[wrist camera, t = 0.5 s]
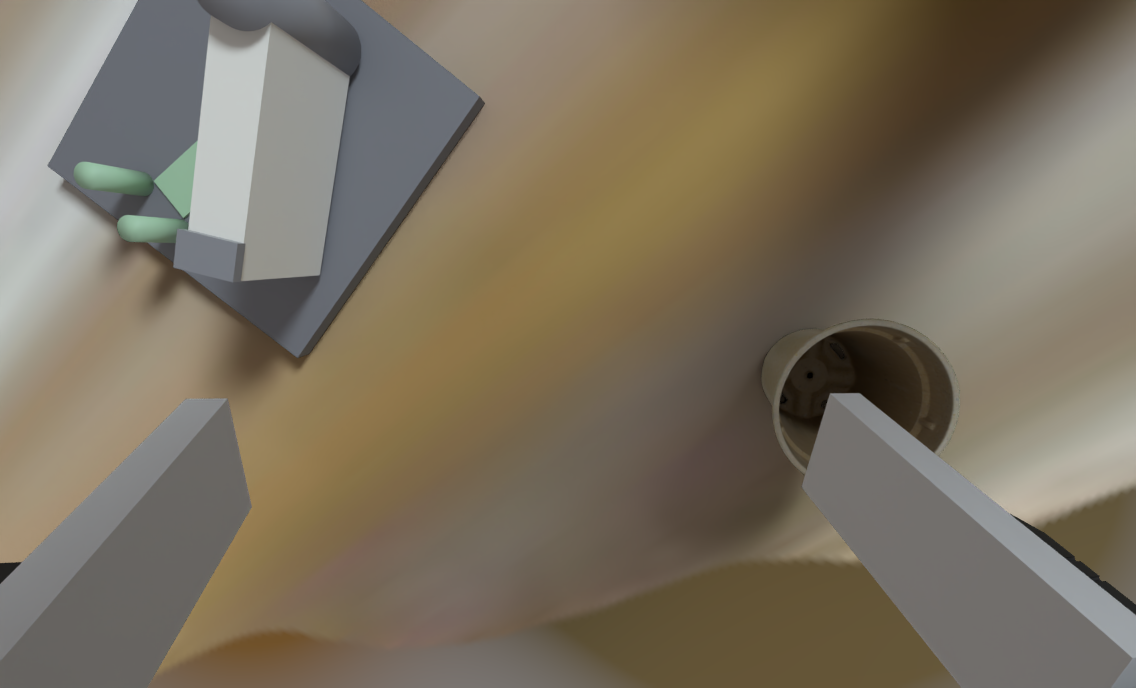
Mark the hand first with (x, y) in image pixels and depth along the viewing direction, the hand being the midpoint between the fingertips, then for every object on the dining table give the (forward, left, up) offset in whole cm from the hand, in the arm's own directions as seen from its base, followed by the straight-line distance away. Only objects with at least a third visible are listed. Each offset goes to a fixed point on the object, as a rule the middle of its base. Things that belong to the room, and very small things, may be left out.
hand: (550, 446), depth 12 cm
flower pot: (-6, +14, -26) cm, 30 cm away
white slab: (+2, -21, -23) cm, 31 cm away
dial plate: (+4, -25, -25) cm, 36 cm away
